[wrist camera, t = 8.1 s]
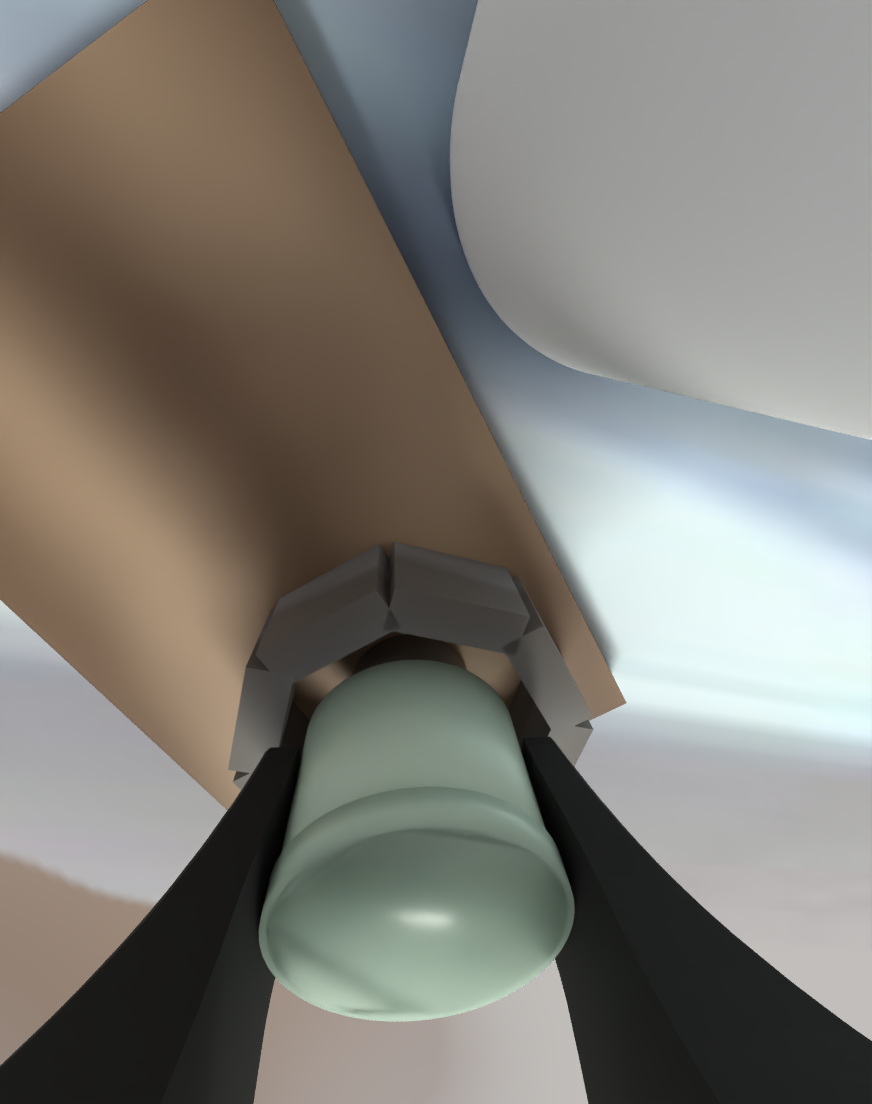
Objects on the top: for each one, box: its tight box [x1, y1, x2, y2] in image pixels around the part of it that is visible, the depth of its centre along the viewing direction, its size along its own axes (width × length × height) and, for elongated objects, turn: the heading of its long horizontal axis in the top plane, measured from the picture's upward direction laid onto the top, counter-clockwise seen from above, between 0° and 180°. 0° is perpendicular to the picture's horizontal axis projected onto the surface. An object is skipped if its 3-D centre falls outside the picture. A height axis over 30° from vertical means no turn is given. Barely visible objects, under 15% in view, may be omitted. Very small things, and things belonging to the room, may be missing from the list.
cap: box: [259, 660, 575, 1022], centre depth 10 cm, size 5×5×4 cm
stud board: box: [0, 0, 626, 810], centre depth 12 cm, size 12×18×4 cm, turn 29°
